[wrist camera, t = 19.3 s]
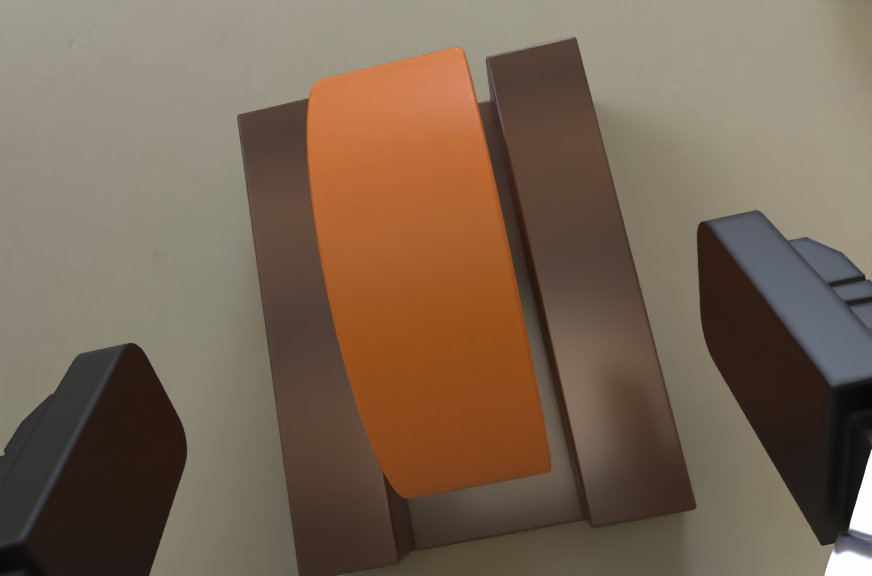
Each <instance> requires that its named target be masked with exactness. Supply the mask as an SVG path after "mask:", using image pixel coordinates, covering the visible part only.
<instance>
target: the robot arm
mask: <svg viewBox="0 0 872 576" xmlns="http://www.w3.org/2000/svg"><path fill="white" fill-rule="evenodd" d="M697 250H698V271H699V292H700V313H701V323H702V329H703V333H704V337H705V341H706V344H707V347H708V350H709V353H710V355H711V357H712V359H713V361H714V363H715V365H716V366H717V368H718V370H719V371H720V373H721V375H722V376H723V378H724V380H725V382H726V383H727V385H728V387H729V388H730V390H731V392H732V394H733V395H734V397H735V399H736V400H737V402H738V404H739V406H740V407H741V409H742V411H743V412H744V414H745V416H746V418H747V419H748V421H749V423H750V424H751V426H752V428H753V429H754V431H755V433H756V435H757V436H758V438H759V440H760V441H761V443H762V445H763V447H764V448H765V450H766V452H767V453H768V455H769V457H770V459H771V460H772V462H773V464H774V465H775V467H776V469H777V470H778V472H779V474H780V476H781V477H782V479H783V481H784V482H785V484H786V486H787V488H788V489H789V491H790V493H791V494H792V496H793V498H794V500H795V501H796V503H797V505H798V506H799V508H800V510H801V511H802V513H803V515H804V517H805V518H806V520H807V522H808V523H809V525H810V527H811V529H812V530H813V532H814V534H815V535H816V537H817V539H818V541H819V542H820V544H821V546H822V545H828V544H833V543H835V545H834V547H833V550H832V553H831V557H830V560H829V563H828V567H827V570H826V573H825V576H872V282H871V281H870V280H866V279H865V275H864V274H863V273H862V272H861V271H860V270H859V269H858V268H857V267H856V266H855V265H854V264H853V263H852V262H851V261H850V260H849V259H848V258H847V257H846V256H845V255H844V254H843V253H841V252H839V251H837V250H835V249H832V248H830V247H828V246H825V245H823V244H821V243H819V242H816V241H814V240H812V239H810V238H807V237H804V238H799V239H795V240H790V241H788V240H787V239H786V238H785V237H784V236H783V235H782V234H781V233H780V232H779V231H778V230H777V229H776V228H775V226H774V225H773V224H772V223H771V222H770V221H769V220H768V219H767V218H766V217H765V216H764V215H763V214H762V213H761V212H760V211H758V210H754V211H750V212H745V213H740V214H736V215H731V216H726V217H722V218H717V219H712V220H708V221H703V222H701V223H700V224H699V226H698V231H697ZM4 452H5V455H3V456H0V576H149V574H150V571H151V568H152V565H153V562H154V559H155V556H156V552H157V549H158V546H159V543H160V540H161V537H162V534H163V531H164V528H165V525H166V522H167V519H168V516H169V513H170V510H171V507H172V504H173V501H174V497H175V494H176V491H177V488H178V485H179V482H180V479H181V476H182V473H183V470H184V467H185V463H186V458H187V443H186V436H185V432H184V428H183V425H182V423H181V421H180V418H179V417H178V415H177V413H176V411H175V409H174V407H173V405H172V403H171V401H170V400H169V398H168V396H167V394H166V392H165V390H164V388H163V386H162V384H161V382H160V381H159V379H158V377H157V375H156V373H155V371H154V369H153V367H152V365H151V364H150V362H149V360H148V358H147V356H146V354H145V353H144V351H143V350H142V349H141V348H140V347H139V346H138V345H136V344H134V343H128V344H123V345H118V346H114V347H109V348H104V349H100V350H95V351H90V352H86V353H82V354H79V355H78V356H77V357H76V358H75V359H74V361H73V362H72V364H71V366H70V367H69V369H68V371H67V372H66V374H65V376H64V377H63V379H62V381H61V382H60V384H59V386H58V387H57V389H56V391H55V392H54V394H52V395H50V396H48V397H47V398H46V399H45V400H44V401H43V402H42V403H41V404H40V405H39V406H38V407H37V408H36V409H35V410H34V411H33V412H32V413H30V414H29V415H28V416H27V417H26V418H25V419H24V420H23V421H22V422H21V424H20V425H19V427H18V428H17V430H16V432H15V433H14V435H13V436H12V438H11V440H10V441H9V443H8V444H7V446H6V448H5V449H4Z"/></svg>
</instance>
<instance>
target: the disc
mask: <svg viewBox="0 0 872 576" xmlns="http://www.w3.org/2000/svg"><path fill="white" fill-rule="evenodd" d="M307 159H308V173H309V183H310V192H311V201H312V208H313V216H314V223H315V230H316V236H317V242H318V248H319V254H320V259H321V265H322V270H323V275H324V280H325V285H326V290H327V295H328V300H329V304H330V309H331V313H332V317H333V322H334V326H335V330H336V335H337V338H338V342H339V346H340V350H341V354H342V358H343V361H344V365H345V369H346V372H347V376H348V379H349V382H350V386H351V389H352V392H353V396H354V399H355V402H356V405H357V408H358V411H359V414H360V417H361V420H362V423H363V426H364V429H365V431H366V434H367V436H368V439H369V441H370V444H371V447H372V449H373V451H374V454H375V456H376V458H377V460H378V462H379V464H380V467H381V469H382V470H383V472H384V474H385V476H386V478H387V479H388V481H389V483H390V484H391V486H392V487H393V488H394V490H395V491H396V492H397V493H398V494H399V495H400V496H402V497H403V498H407V499H413V498H418V497H424V496H429V495H434V494H440V493H445V492H450V491H455V490H461V489H466V488H471V487H477V486H482V485H487V484H492V483H498V482H503V481H508V480H513V479H519V478H524V477H529V476H535V475H540V474H545V473H549V472H550V471H551V457H550V451H549V445H548V439H547V433H546V428H545V422H544V417H543V411H542V406H541V401H540V395H539V390H538V385H537V380H536V375H535V370H534V365H533V359H532V354H531V349H530V345H529V340H528V335H527V330H526V325H525V320H524V315H523V310H522V305H521V300H520V295H519V291H518V286H517V281H516V276H515V271H514V267H513V262H512V257H511V252H510V248H509V243H508V238H507V233H506V229H505V224H504V219H503V215H502V210H501V205H500V201H499V196H498V192H497V187H496V182H495V178H494V173H493V169H492V164H491V160H490V155H489V151H488V146H487V142H486V138H485V133H484V129H483V124H482V120H481V116H480V111H479V107H478V103H477V99H476V94H475V90H474V86H473V82H472V78H471V74H470V70H469V66H468V62H467V59H466V55H465V52H464V51H463V49H462V48H460V47H457V48H453V49H448V50H444V51H440V52H435V53H431V54H427V55H423V56H418V57H414V58H410V59H406V60H401V61H397V62H393V63H389V64H384V65H380V66H376V67H372V68H367V69H363V70H359V71H355V72H350V73H346V74H342V75H338V76H333V77H329V78H325V79H321V80H319V81H318V82H317V83H315V84H314V86H313V88H312V90H311V92H310V97H309V102H308V111H307Z"/></svg>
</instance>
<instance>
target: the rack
mask: <svg viewBox="0 0 872 576" xmlns="http://www.w3.org/2000/svg"><path fill="white" fill-rule="evenodd" d="M486 66H487V75H488V83H489V92H490V101H485V102H481V103H478V107H479V111H480V116H481V120H482V124H483V129H484V133H485V138H486V142H487V146H488V151H489V155H490V160H491V164H492V169H493V173H494V178H495V182H496V187H497V192H498V196H499V201H500V205H501V210H502V215H503V219H504V224H505V229H506V233H507V238H508V243H509V248H510V252H511V257H512V262H513V267H514V271H515V276H516V281H517V286H518V291H519V295H520V300H521V305H522V310H523V315H524V320H525V325H526V330H527V335H528V340H529V345H530V349H531V354H532V359H533V365H534V370H535V375H536V380H537V385H538V390H539V395H540V401H541V406H542V411H543V417H544V422H545V428H546V433H547V439H548V445H549V451H550V457H551V471H550V472H549V473H545V474H540V475H535V476H529V477H524V478H519V479H513V480H508V481H503V482H498V483H492V484H487V485H482V486H477V487H471V488H466V489H461V490H455V491H450V492H445V493H440V494H434V495H429V496H424V497H418V498H413V499H407V498H403V497H402V496H400V495H399V494H398V493H397V492H396V491H395V490H394V488H393V487H392V486H391V484H390V483H389V481H388V479H387V478H386V476H385V474H384V472H383V470H382V469H381V467H380V464H379V462H378V460H377V458H376V456H375V454H374V451H373V449H372V447H371V444H370V441H369V439H368V436H367V434H366V431H365V429H364V426H363V423H362V420H361V417H360V414H359V411H358V408H357V405H356V402H355V399H354V396H353V392H352V389H351V386H350V382H349V379H348V376H347V372H346V369H345V365H344V361H343V358H342V354H341V350H340V346H339V342H338V338H337V335H336V330H335V326H334V322H333V317H332V313H331V309H330V304H329V300H328V295H327V290H326V285H325V280H324V275H323V270H322V265H321V259H320V254H319V248H318V242H317V236H316V230H315V223H314V216H313V208H312V201H311V192H310V183H309V173H308V159H307V111H308V102H309V98H308V99H304V100H299V101H295V102H291V103H287V104H282V105H278V106H274V107H269V108H265V109H261V110H257V111H252V112H248V113H244V114H239V115H238V116H237V119H238V127H239V134H240V142H241V149H242V156H243V164H244V171H245V179H246V186H247V194H248V201H249V208H250V216H251V223H252V231H253V238H254V246H255V253H256V261H257V268H258V275H259V283H260V290H261V298H262V305H263V313H264V320H265V327H266V335H267V342H268V350H269V357H270V365H271V372H272V379H273V387H274V394H275V402H276V409H277V417H278V424H279V431H280V439H281V446H282V454H283V461H284V469H285V476H286V483H287V491H288V498H289V506H290V513H291V521H292V528H293V535H294V543H295V550H296V558H297V565H298V573H299V576H336V575H342V574H347V573H353V572H358V571H363V570H369V569H374V568H380V567H385V566H391V565H396V564H398V563H400V562H401V561H402V560H404V559H405V558H406V557H407V556H409V555H410V554H411V553H412V552H414V551H419V550H425V549H430V548H436V547H441V546H446V545H452V544H457V543H463V542H468V541H474V540H479V539H485V538H490V537H495V536H501V535H506V534H512V533H517V532H523V531H528V530H533V529H539V528H544V527H550V526H555V525H561V524H566V523H572V522H577V521H582V520H585V521H586V522H587V523H588V524H589V525H590V526H591V528H598V527H604V526H609V525H615V524H620V523H626V522H631V521H637V520H642V519H648V518H653V517H659V516H664V515H669V514H675V513H680V512H686V511H691V510H694V509H696V502H695V498H694V494H693V490H692V486H691V482H690V478H689V474H688V471H687V467H686V463H685V459H684V455H683V451H682V447H681V443H680V439H679V436H678V432H677V428H676V424H675V420H674V416H673V412H672V408H671V404H670V401H669V397H668V393H667V389H666V385H665V381H664V377H663V373H662V369H661V366H660V362H659V358H658V354H657V350H656V346H655V342H654V338H653V334H652V331H651V327H650V323H649V319H648V315H647V311H646V307H645V303H644V299H643V296H642V292H641V288H640V284H639V280H638V276H637V272H636V268H635V264H634V261H633V257H632V253H631V249H630V245H629V241H628V237H627V233H626V229H625V226H624V222H623V218H622V214H621V210H620V206H619V202H618V198H617V194H616V191H615V187H614V183H613V179H612V175H611V171H610V167H609V163H608V159H607V156H606V152H605V148H604V144H603V140H602V136H601V132H600V128H599V124H598V120H597V117H596V113H595V109H594V105H593V101H592V97H591V93H590V89H589V85H588V82H587V78H586V74H585V70H584V66H583V62H582V58H581V54H580V50H579V47H578V43H577V39H576V38H575V37H570V38H565V39H561V40H557V41H553V42H548V43H544V44H540V45H535V46H531V47H527V48H523V49H518V50H514V51H510V52H505V53H501V54H497V55H493V56H488V57H487V58H486Z"/></svg>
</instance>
